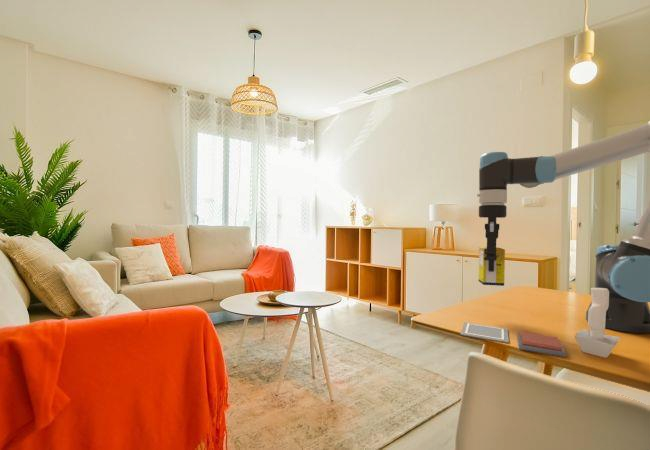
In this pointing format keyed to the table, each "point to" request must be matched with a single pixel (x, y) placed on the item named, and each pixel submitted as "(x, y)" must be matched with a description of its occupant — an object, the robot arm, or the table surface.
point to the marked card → (485, 332)
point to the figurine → (597, 326)
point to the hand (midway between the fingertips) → (491, 280)
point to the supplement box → (499, 266)
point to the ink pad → (540, 344)
